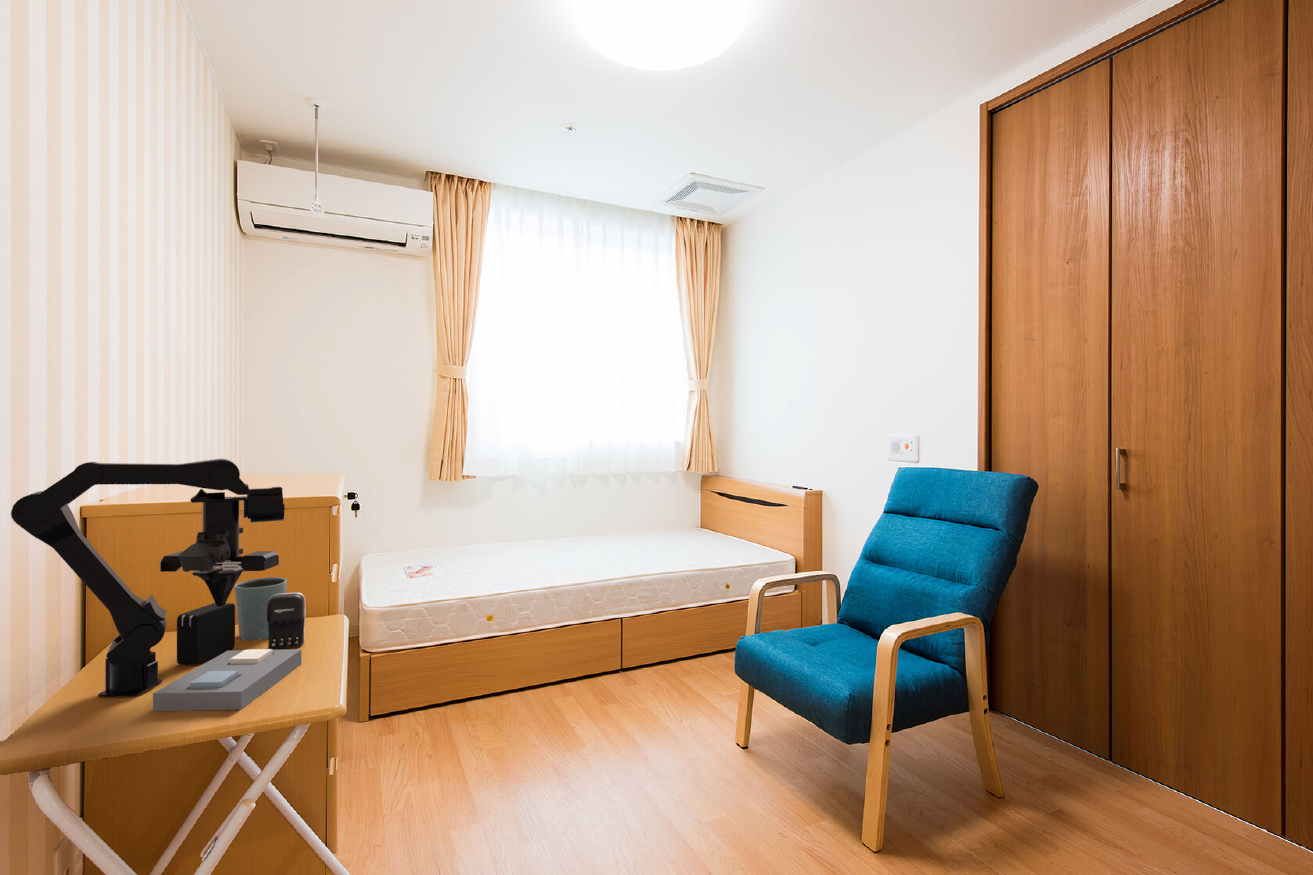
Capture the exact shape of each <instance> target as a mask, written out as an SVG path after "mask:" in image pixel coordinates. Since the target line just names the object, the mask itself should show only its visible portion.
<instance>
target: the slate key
mask: <svg viewBox="0 0 1313 875" xmlns="http://www.w3.org/2000/svg"><path fill="white" fill-rule="evenodd" d="M238 677H239V671H208V672H207V673H205V674H203V675H202V676H200V677H198V678H197V679H195V680H193V681H192V682H190V689H204V688H223V687H224V686H226V685H227V684H229V683H230V682H232V681H233V680H235V679H236V678H238Z"/></svg>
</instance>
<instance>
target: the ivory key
mask: <svg viewBox="0 0 1313 875" xmlns="http://www.w3.org/2000/svg"><path fill="white" fill-rule="evenodd" d="M243 650H244V651H242V652H241V653H239V654H237V655H236V656H234V657H232V658H231V659H230V664H259V663H261V662H262V661H264V660H265V659H267V658H268V657H270V656H271V655H272V650H273V649H269V648H257V649H256V648H255V649H253V648H252V649H243Z"/></svg>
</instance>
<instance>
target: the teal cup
mask: <svg viewBox="0 0 1313 875" xmlns="http://www.w3.org/2000/svg"><path fill="white" fill-rule="evenodd" d="M287 583H288V579H287V578H285V577H277V576H274V577H272V576H271V577H260V578H253V579H248V580H243V581H241V582H238V583H235V585H234V587H233V588H234V594H235V601H236V602H235V603H236V604H235V605H236V613H237V621H238V634H239V639H240V638H241V639H240V640H242V641H252V642H254V641H262V640H269V631H268V622H267V605H268V602H269V600H270V598H271V597H272V596H273V595H276V594H283V593H287V585H288V584H287Z"/></svg>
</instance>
